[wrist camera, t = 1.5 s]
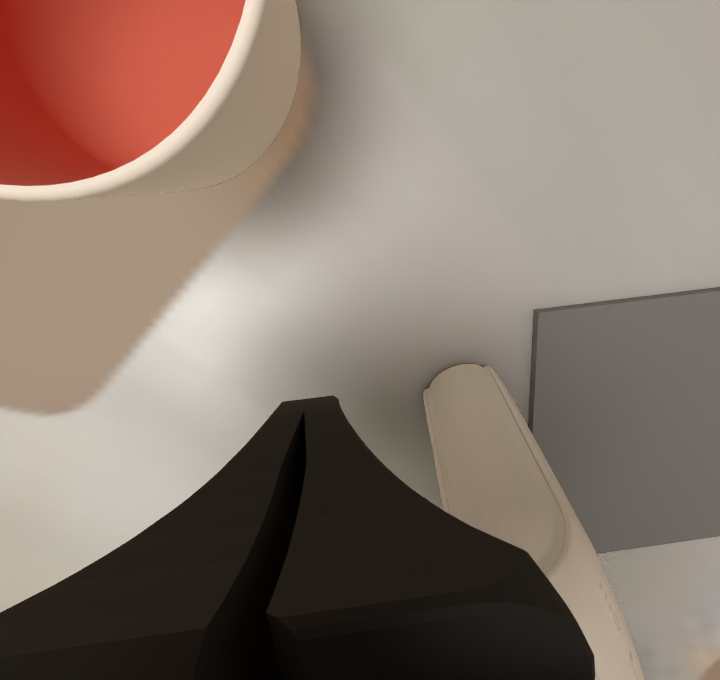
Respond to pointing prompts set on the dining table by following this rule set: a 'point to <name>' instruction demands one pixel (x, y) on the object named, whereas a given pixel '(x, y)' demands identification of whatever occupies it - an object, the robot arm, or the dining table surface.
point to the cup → (140, 93)
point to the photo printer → (521, 503)
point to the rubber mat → (632, 415)
